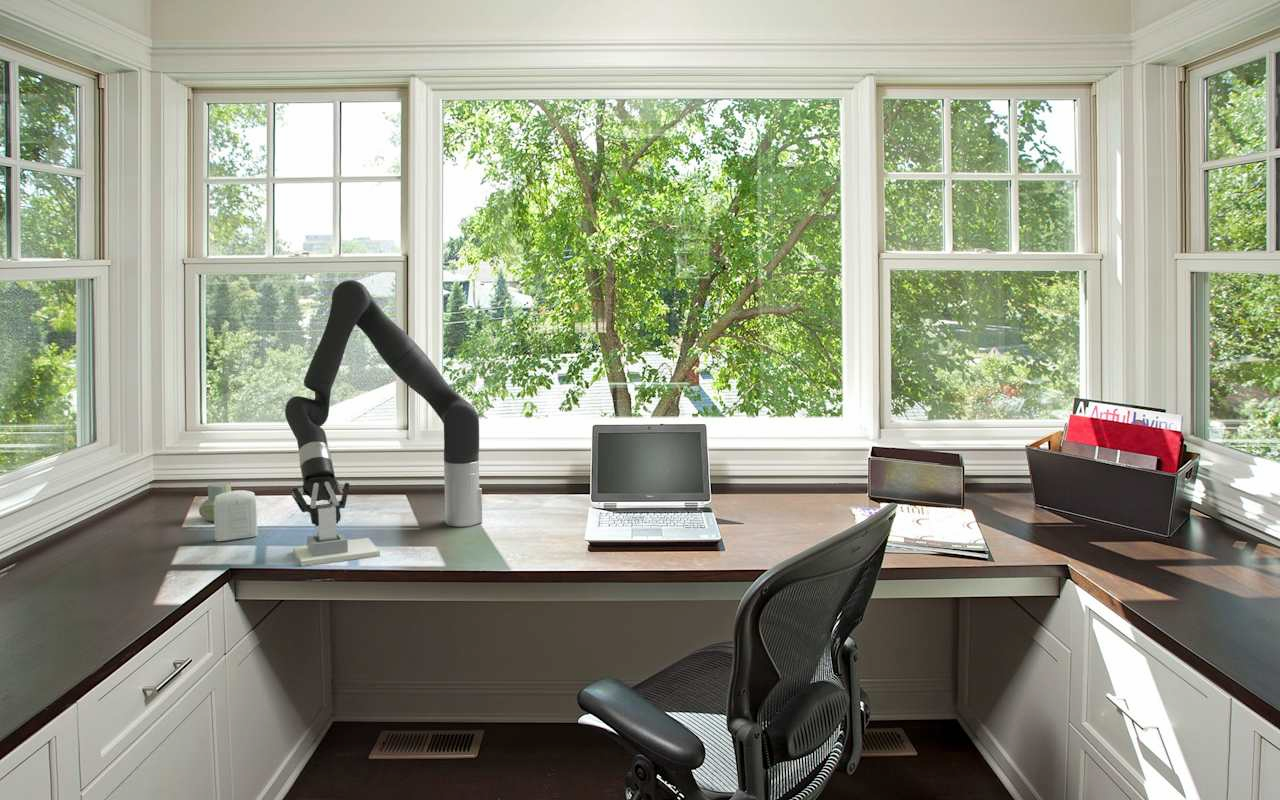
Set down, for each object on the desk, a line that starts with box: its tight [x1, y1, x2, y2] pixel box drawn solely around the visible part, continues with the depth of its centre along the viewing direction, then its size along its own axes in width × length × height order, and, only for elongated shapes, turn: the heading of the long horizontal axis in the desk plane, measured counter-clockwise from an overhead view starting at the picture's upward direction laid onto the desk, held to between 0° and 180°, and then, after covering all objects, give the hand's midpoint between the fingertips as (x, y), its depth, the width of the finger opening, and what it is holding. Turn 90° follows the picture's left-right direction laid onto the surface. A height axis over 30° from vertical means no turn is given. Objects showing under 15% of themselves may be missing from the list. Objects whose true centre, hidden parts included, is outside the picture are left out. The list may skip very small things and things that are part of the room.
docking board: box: [292, 531, 381, 567], centre depth 234 cm, size 18×13×4 cm
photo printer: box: [213, 489, 259, 542], centre depth 247 cm, size 10×4×12 cm, turn 123°
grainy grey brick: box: [315, 503, 338, 542], centre depth 232 cm, size 4×4×10 cm
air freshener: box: [198, 481, 232, 523], centre depth 266 cm, size 11×8×10 cm
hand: (327, 522), depth 231 cm, fingers closed on grainy grey brick, 4 cm apart
